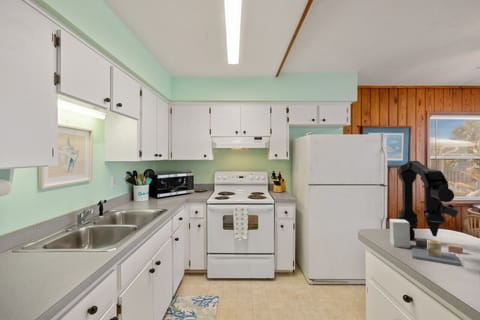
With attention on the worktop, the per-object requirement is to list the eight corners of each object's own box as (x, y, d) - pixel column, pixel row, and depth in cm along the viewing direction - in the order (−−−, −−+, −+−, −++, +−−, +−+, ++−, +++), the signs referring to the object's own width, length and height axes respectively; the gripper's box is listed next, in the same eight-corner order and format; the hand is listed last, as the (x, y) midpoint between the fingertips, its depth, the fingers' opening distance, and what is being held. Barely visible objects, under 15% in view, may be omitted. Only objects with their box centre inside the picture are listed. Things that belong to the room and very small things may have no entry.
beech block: (428, 255, 110) (427, 242, 110) (427, 252, 114) (427, 239, 114) (441, 257, 108) (440, 243, 108) (439, 254, 111) (439, 241, 111)
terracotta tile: (448, 252, 117) (448, 245, 117) (447, 250, 119) (447, 244, 119) (462, 254, 114) (462, 247, 114) (461, 252, 116) (461, 245, 116)
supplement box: (405, 243, 129) (405, 219, 129) (410, 248, 122) (409, 222, 122) (389, 242, 132) (389, 218, 132) (393, 246, 125) (392, 221, 125)
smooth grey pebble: (416, 246, 124) (416, 241, 124) (415, 244, 129) (415, 238, 129) (428, 248, 122) (428, 242, 122) (427, 245, 126) (427, 239, 126)
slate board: (412, 258, 110) (412, 255, 110) (411, 249, 120) (411, 247, 120) (460, 266, 101) (460, 263, 101) (455, 256, 111) (455, 254, 111)
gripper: (460, 203, 98) (461, 242, 98) (452, 197, 114) (453, 231, 114) (425, 201, 105) (426, 238, 104) (422, 195, 120) (423, 227, 120)
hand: (433, 233), depth 111 cm, fingers open, 9 cm apart
